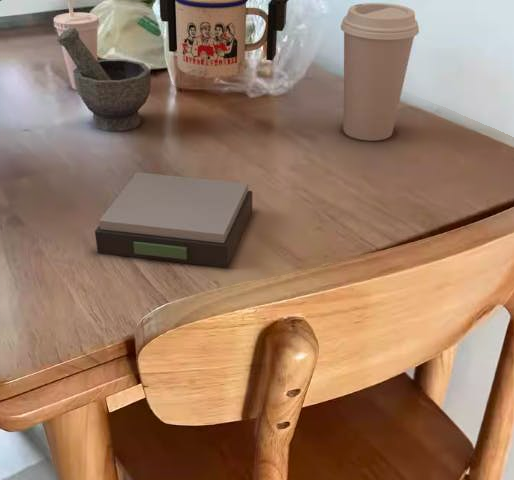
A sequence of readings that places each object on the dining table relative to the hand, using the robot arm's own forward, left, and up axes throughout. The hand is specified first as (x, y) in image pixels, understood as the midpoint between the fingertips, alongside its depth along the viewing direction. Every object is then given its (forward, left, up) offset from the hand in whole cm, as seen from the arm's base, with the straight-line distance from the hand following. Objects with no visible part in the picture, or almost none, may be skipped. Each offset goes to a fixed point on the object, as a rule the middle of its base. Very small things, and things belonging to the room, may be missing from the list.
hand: (222, 53), depth 93 cm
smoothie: (-24, +10, -9) cm, 27 cm away
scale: (+2, -30, -9) cm, 31 cm away
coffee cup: (+19, +2, -9) cm, 22 cm away
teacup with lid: (0, 0, -2) cm, 2 cm away
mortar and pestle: (-15, -3, -9) cm, 18 cm away
